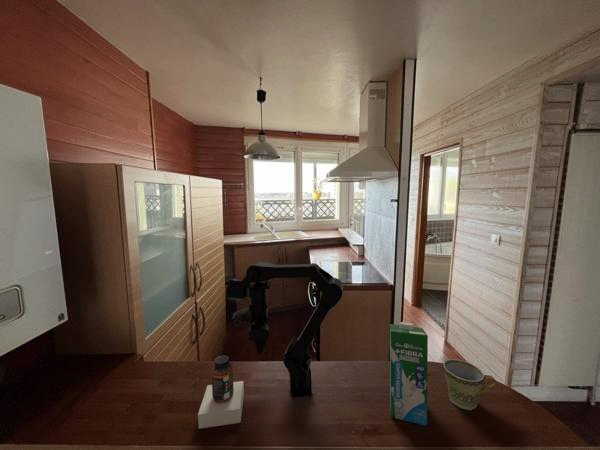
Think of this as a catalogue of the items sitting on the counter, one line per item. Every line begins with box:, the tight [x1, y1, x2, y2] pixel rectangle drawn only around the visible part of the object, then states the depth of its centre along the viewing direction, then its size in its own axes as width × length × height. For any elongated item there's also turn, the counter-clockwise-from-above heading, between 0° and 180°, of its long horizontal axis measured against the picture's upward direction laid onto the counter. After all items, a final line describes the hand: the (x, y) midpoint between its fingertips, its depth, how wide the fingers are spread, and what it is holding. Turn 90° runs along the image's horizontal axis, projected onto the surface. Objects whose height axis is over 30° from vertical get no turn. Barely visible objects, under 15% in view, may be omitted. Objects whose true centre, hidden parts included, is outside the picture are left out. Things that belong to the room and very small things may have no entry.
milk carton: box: [389, 321, 429, 427], centre depth 69 cm, size 9×9×25 cm
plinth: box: [197, 380, 245, 429], centre depth 71 cm, size 11×11×4 cm
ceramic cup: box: [443, 358, 497, 411], centre depth 71 cm, size 13×10×10 cm
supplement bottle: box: [211, 354, 234, 403], centre depth 71 cm, size 6×6×11 cm
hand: (260, 346), depth 81 cm, fingers open, 9 cm apart
